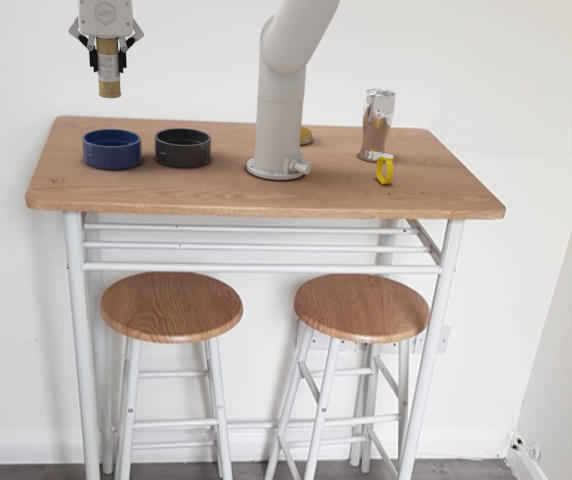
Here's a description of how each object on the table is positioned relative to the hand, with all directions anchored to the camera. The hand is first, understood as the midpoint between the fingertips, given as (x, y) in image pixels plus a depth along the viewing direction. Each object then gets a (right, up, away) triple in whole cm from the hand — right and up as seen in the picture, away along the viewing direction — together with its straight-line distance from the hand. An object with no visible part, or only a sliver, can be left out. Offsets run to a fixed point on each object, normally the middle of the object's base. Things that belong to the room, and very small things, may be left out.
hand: (108, 70), depth 141 cm
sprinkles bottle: (0, -4, +3) cm, 5 cm away
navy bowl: (-2, -16, +10) cm, 19 cm away
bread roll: (+37, -6, +31) cm, 49 cm away
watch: (+56, -20, +11) cm, 61 cm away
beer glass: (+56, -12, +24) cm, 62 cm away
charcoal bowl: (+13, -15, +14) cm, 24 cm away
